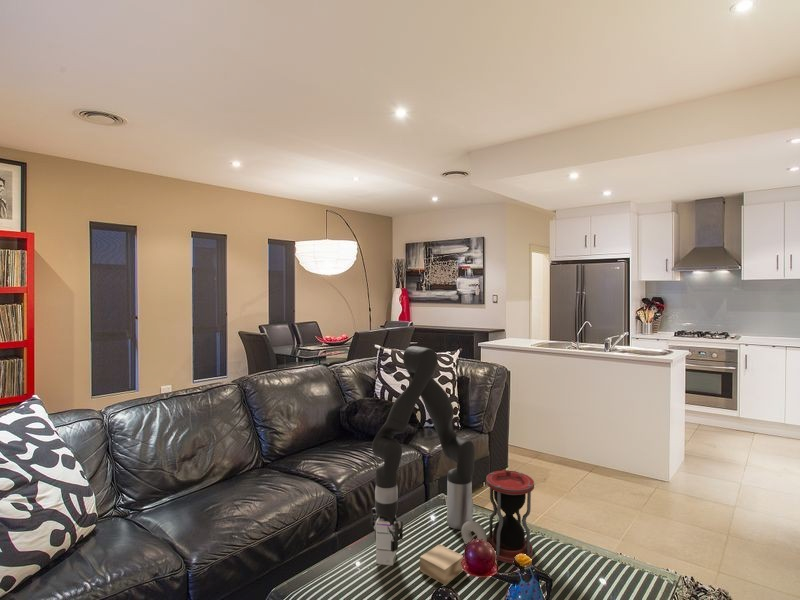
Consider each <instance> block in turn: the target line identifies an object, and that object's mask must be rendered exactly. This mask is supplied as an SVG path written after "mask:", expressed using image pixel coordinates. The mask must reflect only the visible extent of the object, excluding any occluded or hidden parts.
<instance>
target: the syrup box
mask: <svg viewBox="0 0 800 600" xmlns="http://www.w3.org/2000/svg"><path fill="white" fill-rule="evenodd" d="M395 516H396V517H397V515H395ZM383 520H385V519H383V518H381V519H379V518H378V519H377V521H376V540H375V562H376V564H378V565H383V566H394V563H395V560H396V559H397V550H396V551H394V552H392V551H391V537H390V535H389V534H388V533H387V526H388V527H389V528H390V530H391V531H393V530H394V526H393V525H390V522H388V521H383ZM385 522H386V523H385ZM386 524H387V525H386ZM393 536H395V534H394V532H393Z"/></svg>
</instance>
